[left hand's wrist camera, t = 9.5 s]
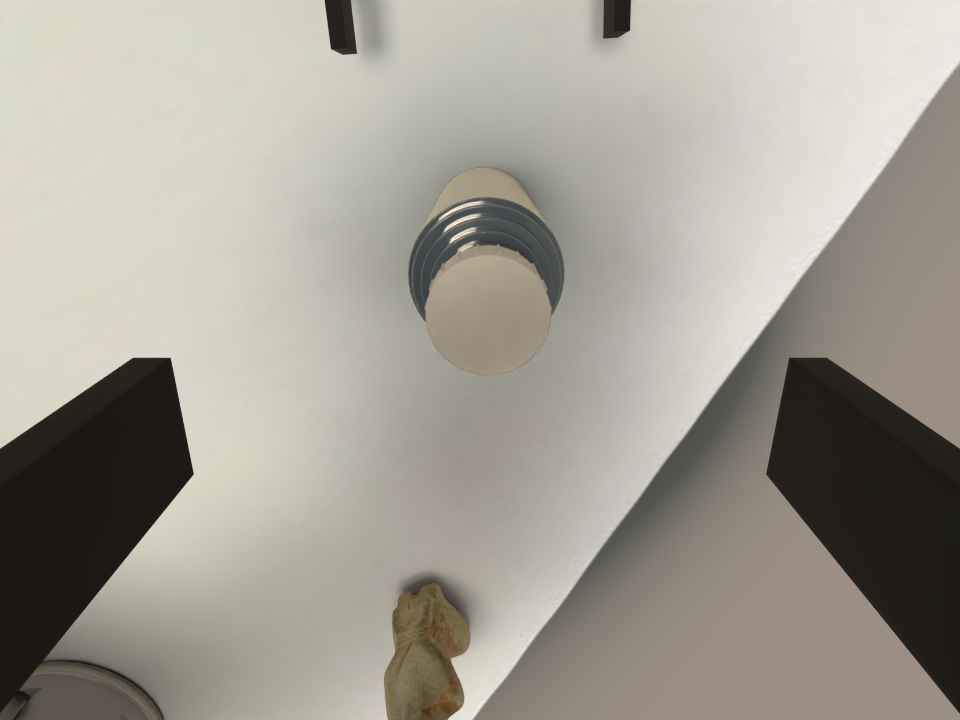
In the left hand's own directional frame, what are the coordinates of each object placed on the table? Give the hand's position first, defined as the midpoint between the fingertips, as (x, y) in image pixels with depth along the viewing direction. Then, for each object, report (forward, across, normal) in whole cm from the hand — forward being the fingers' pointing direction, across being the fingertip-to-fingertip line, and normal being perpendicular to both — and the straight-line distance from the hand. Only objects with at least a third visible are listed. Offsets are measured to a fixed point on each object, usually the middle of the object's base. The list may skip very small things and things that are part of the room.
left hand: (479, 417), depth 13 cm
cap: (+8, 0, 0) cm, 8 cm away
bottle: (+29, 0, 0) cm, 29 cm away
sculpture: (+29, -4, -33) cm, 44 cm away
